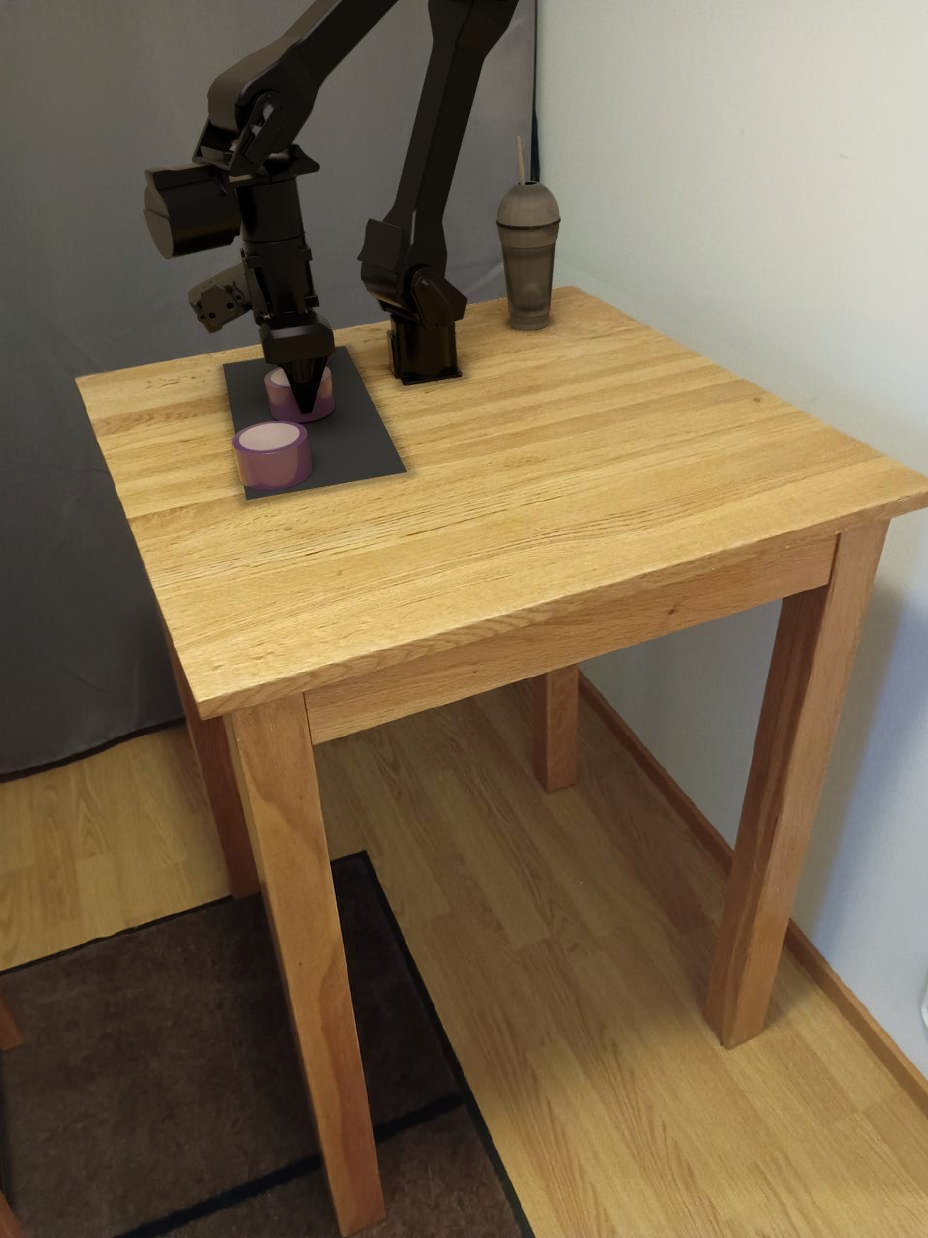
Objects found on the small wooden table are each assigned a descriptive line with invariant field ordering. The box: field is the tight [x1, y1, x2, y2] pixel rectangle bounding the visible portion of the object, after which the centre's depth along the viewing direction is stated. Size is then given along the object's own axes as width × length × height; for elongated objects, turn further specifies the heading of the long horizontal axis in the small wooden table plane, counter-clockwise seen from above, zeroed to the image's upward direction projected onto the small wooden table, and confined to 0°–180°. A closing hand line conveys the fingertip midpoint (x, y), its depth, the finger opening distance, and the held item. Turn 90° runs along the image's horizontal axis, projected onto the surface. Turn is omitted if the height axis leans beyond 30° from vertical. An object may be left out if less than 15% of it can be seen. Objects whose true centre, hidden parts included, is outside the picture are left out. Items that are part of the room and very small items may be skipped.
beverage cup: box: [495, 135, 562, 331], centre depth 104 cm, size 7×7×20 cm
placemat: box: [222, 345, 408, 501], centre depth 93 cm, size 14×33×1 cm, turn 15°
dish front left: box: [264, 366, 336, 423], centre depth 91 cm, size 6×6×4 cm
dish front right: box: [231, 421, 313, 491], centre depth 81 cm, size 6×6×4 cm
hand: (302, 399), depth 92 cm, fingers closed on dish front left, 6 cm apart
